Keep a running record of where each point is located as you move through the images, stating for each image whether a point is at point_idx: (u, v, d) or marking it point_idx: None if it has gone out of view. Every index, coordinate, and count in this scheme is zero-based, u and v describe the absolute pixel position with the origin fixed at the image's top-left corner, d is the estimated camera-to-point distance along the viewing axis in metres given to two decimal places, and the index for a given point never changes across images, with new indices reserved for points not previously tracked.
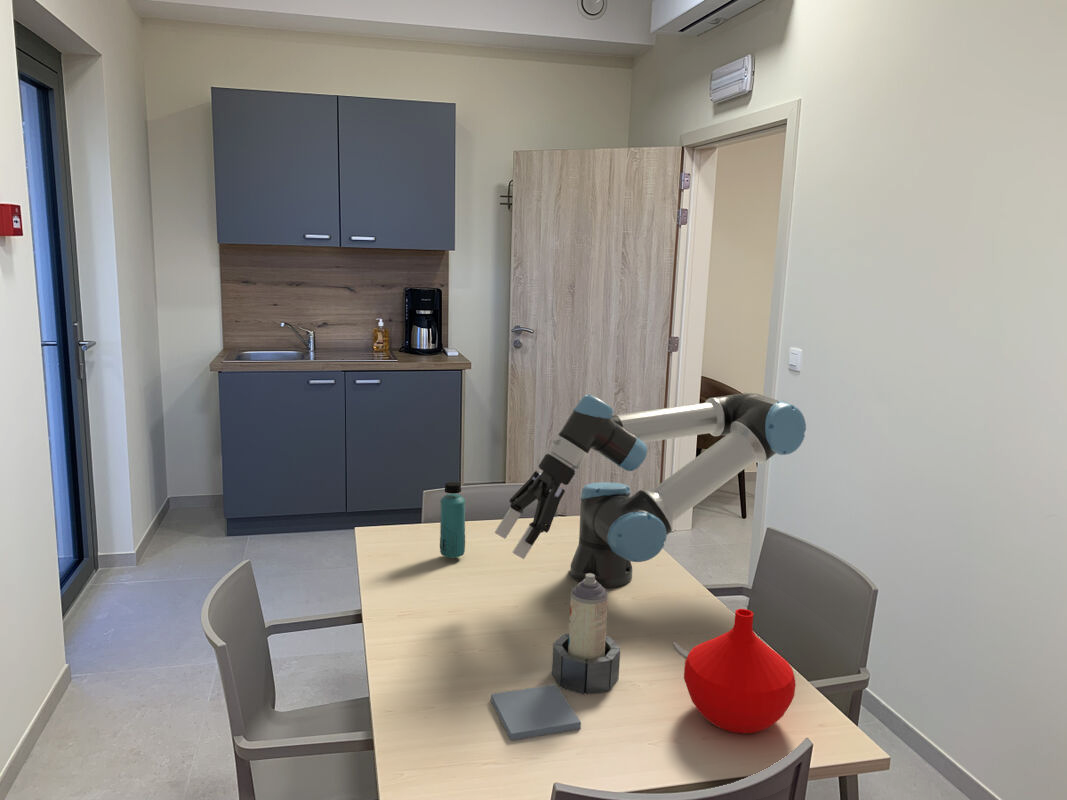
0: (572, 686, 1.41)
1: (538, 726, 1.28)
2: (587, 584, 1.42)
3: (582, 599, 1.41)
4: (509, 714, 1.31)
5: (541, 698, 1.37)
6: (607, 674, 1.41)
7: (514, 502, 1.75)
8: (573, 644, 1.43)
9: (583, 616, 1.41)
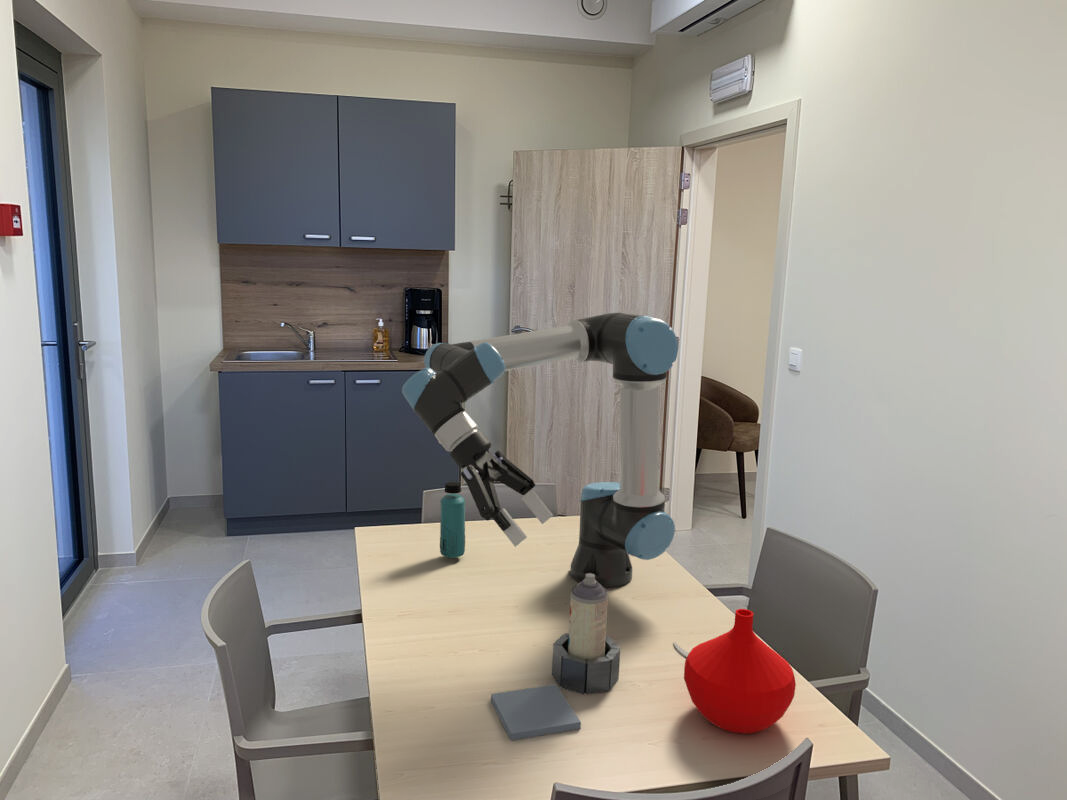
0: (572, 686, 1.41)
1: (538, 726, 1.28)
2: (587, 584, 1.42)
3: (582, 599, 1.41)
4: (509, 714, 1.31)
5: (541, 698, 1.37)
6: (607, 674, 1.41)
7: None
8: (573, 644, 1.43)
9: (583, 616, 1.41)
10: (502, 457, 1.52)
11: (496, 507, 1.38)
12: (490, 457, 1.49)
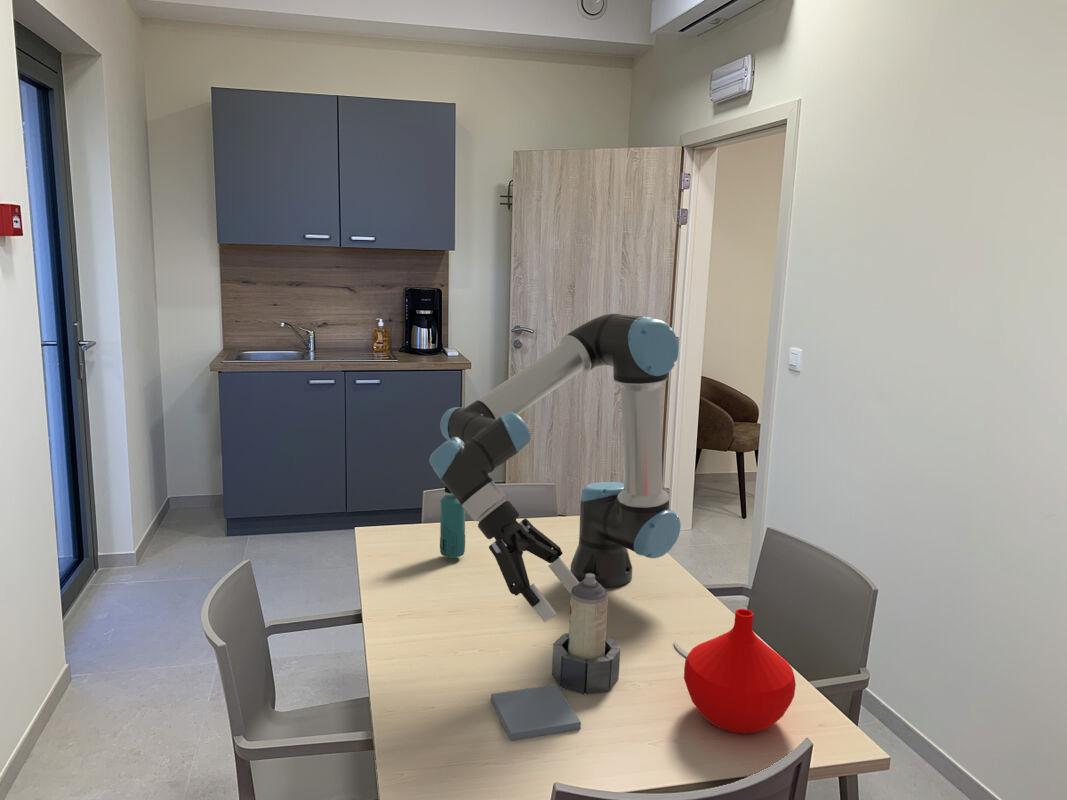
0: (572, 686, 1.41)
1: (538, 726, 1.28)
2: (587, 584, 1.42)
3: (582, 599, 1.41)
4: (509, 714, 1.31)
5: (541, 698, 1.37)
6: (607, 674, 1.41)
7: None
8: (573, 644, 1.43)
9: (583, 616, 1.41)
10: (529, 525, 1.51)
11: (525, 583, 1.38)
12: (518, 527, 1.48)
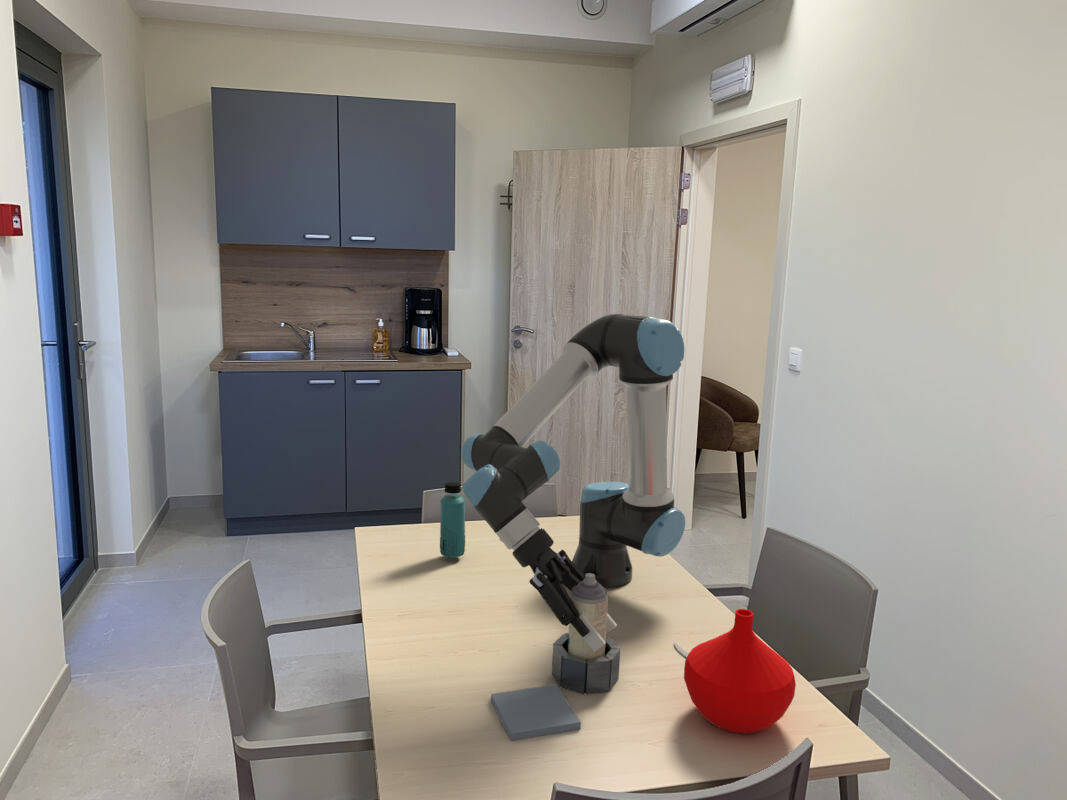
0: (572, 686, 1.41)
1: (538, 726, 1.28)
2: (587, 584, 1.42)
3: (582, 599, 1.41)
4: (509, 714, 1.31)
5: (541, 698, 1.37)
6: (607, 674, 1.41)
7: None
8: (573, 644, 1.43)
9: None
10: (565, 557, 1.50)
11: (576, 614, 1.39)
12: (551, 553, 1.48)
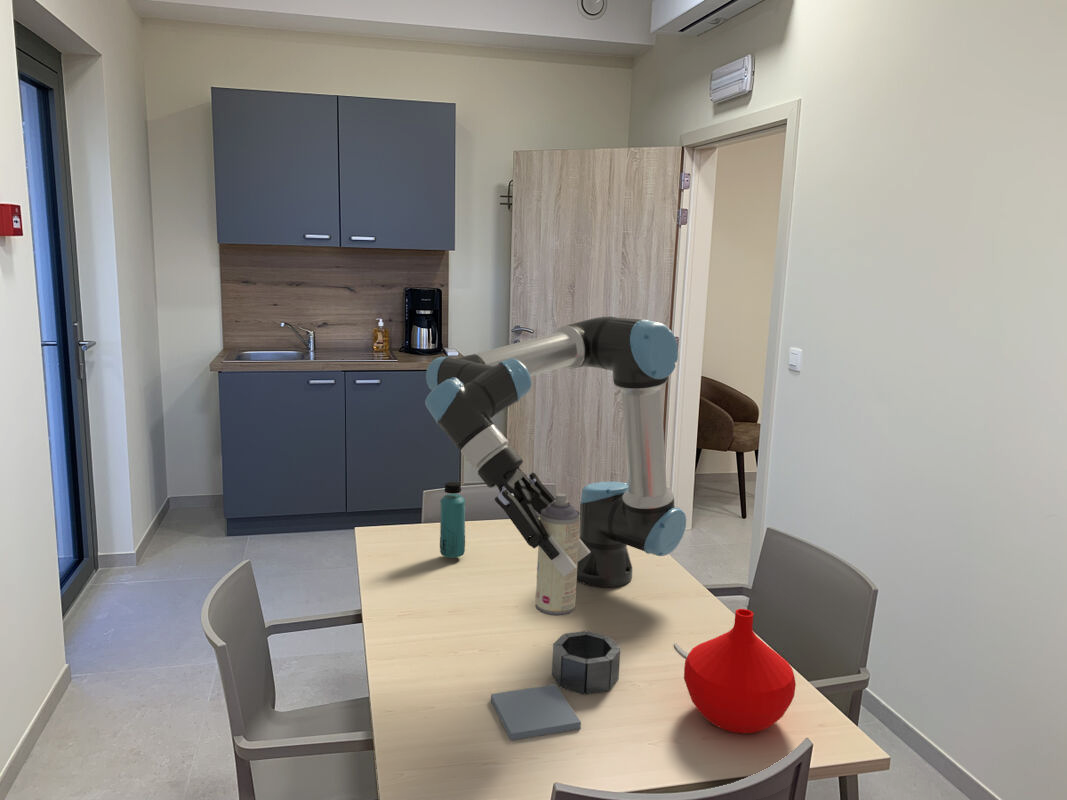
0: (572, 686, 1.41)
1: (538, 726, 1.28)
2: (558, 504, 1.31)
3: (552, 519, 1.30)
4: (509, 714, 1.31)
5: (541, 698, 1.37)
6: (607, 674, 1.41)
7: None
8: (542, 570, 1.32)
9: None
10: (536, 479, 1.39)
11: (544, 535, 1.28)
12: (520, 473, 1.37)
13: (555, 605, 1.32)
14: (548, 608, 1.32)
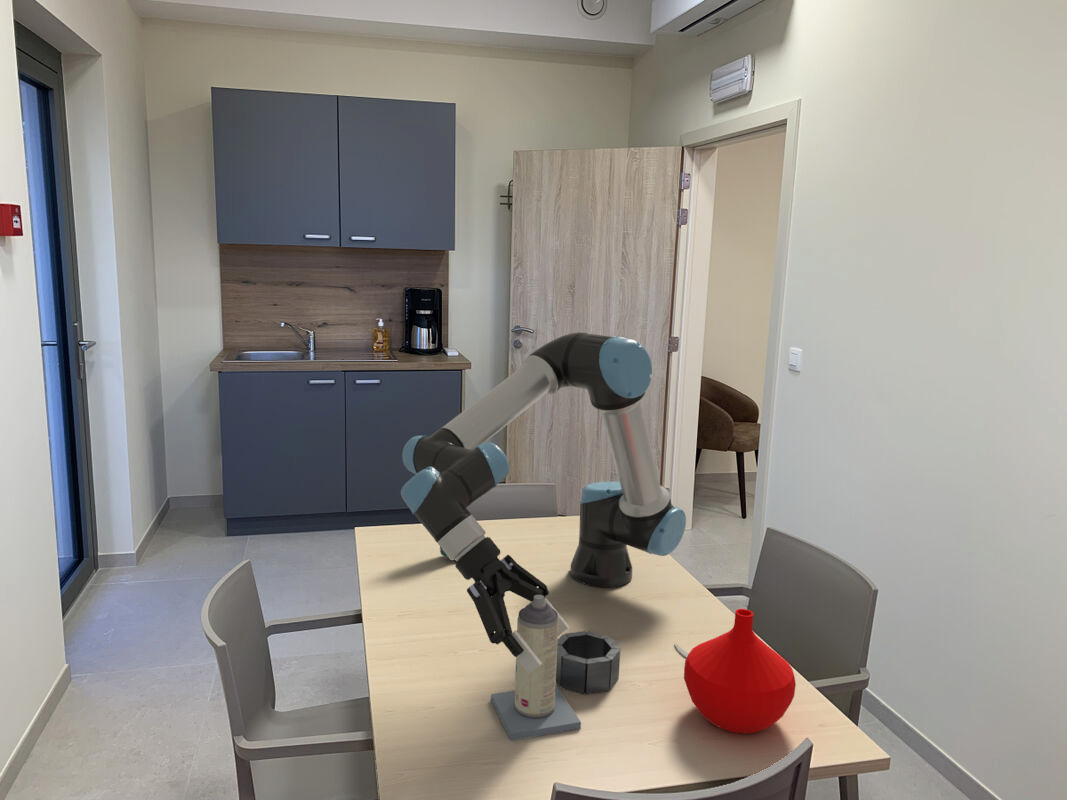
0: (572, 686, 1.41)
1: (538, 726, 1.28)
2: (535, 607, 1.29)
3: (530, 624, 1.28)
4: (509, 714, 1.31)
5: None
6: (607, 674, 1.41)
7: None
8: (520, 673, 1.30)
9: (531, 642, 1.28)
10: (512, 562, 1.38)
11: (507, 631, 1.24)
12: (499, 565, 1.34)
13: (534, 708, 1.30)
14: (527, 711, 1.31)
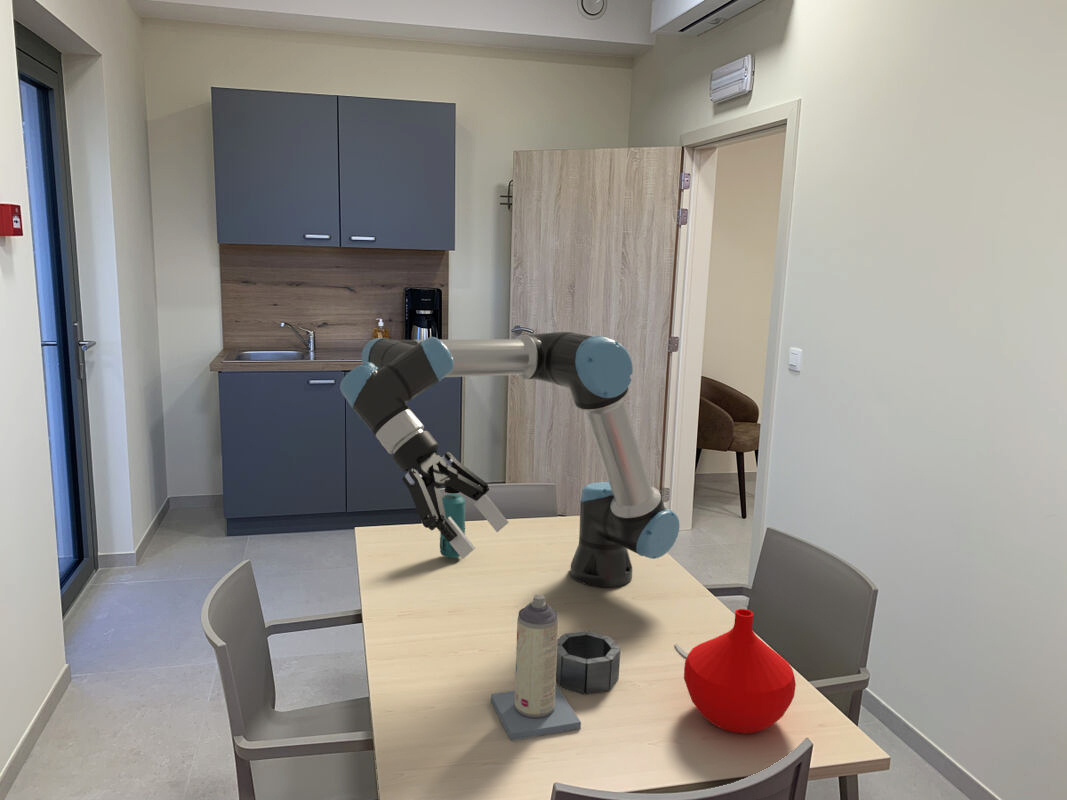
0: (572, 686, 1.41)
1: (538, 726, 1.28)
2: (535, 607, 1.29)
3: (529, 624, 1.28)
4: (509, 714, 1.31)
5: None
6: (607, 674, 1.41)
7: None
8: (520, 673, 1.30)
9: (531, 642, 1.28)
10: (452, 459, 1.39)
11: (440, 515, 1.25)
12: (438, 460, 1.35)
13: (534, 708, 1.30)
14: (527, 711, 1.31)
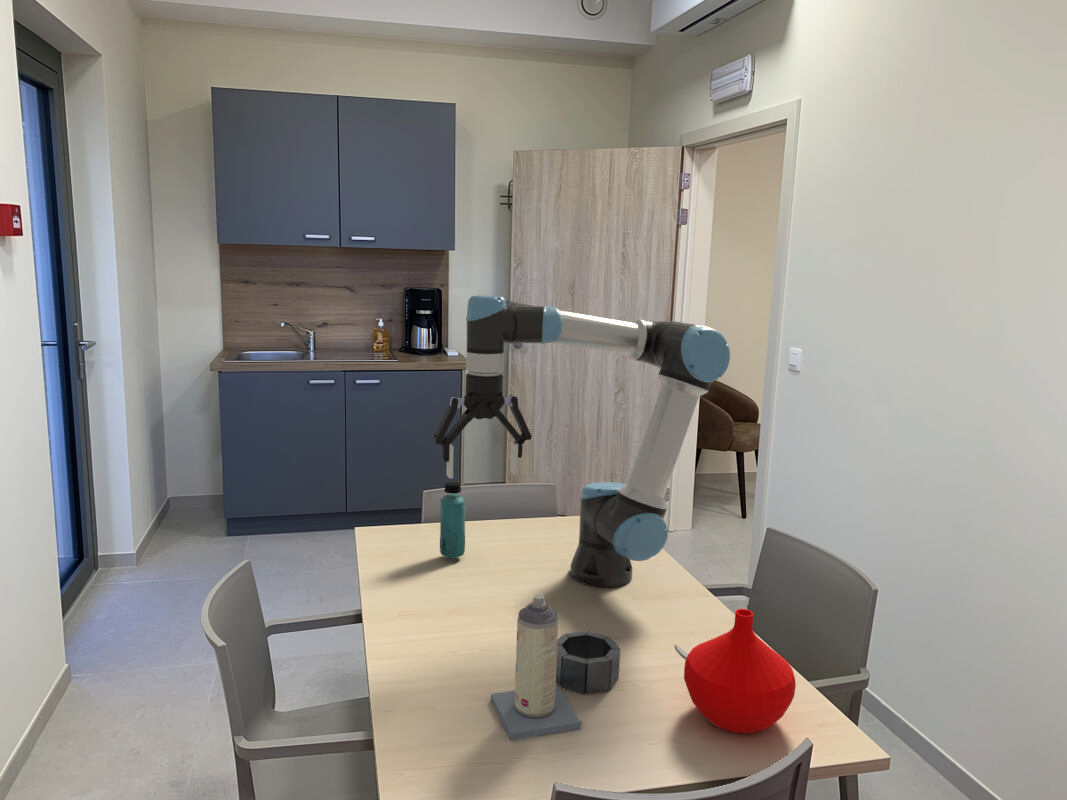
0: (572, 686, 1.41)
1: (538, 726, 1.28)
2: (535, 607, 1.29)
3: (529, 624, 1.28)
4: (509, 714, 1.31)
5: None
6: (607, 674, 1.41)
7: None
8: (520, 673, 1.30)
9: (531, 642, 1.28)
10: (513, 404, 1.61)
11: (444, 442, 1.58)
12: (495, 399, 1.59)
13: (534, 708, 1.30)
14: (527, 711, 1.31)
